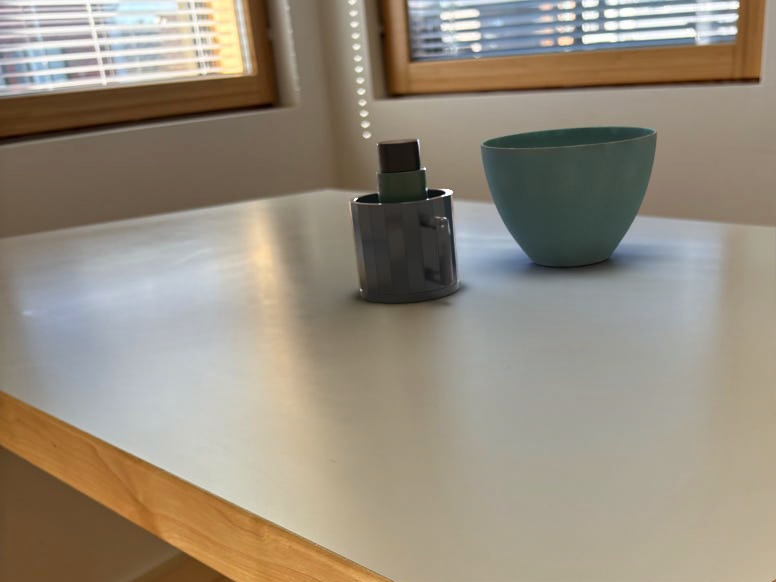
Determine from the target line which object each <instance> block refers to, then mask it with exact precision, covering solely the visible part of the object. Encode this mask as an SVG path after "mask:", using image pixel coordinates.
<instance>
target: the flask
mask: <svg viewBox="0 0 776 582" xmlns="http://www.w3.org/2000/svg"><path fill="white" fill-rule="evenodd" d="M376 149H377V150H376V151H377V156H378V157H377V158H378V168H379V169H378V170H377V171H375V179H376V187H377V188H376V189H377V192H378V198H379V204H386V203H401V202H411V201H419V200H425V199H428V191H427V188H428V182H427V180H428V179H427V170H426V167H425V166H422V160H421V150H420V140H419V139H418V138H400V139H399V138H398V139H388V140H383V141H378V142H376Z"/></svg>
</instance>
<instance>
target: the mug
mask: <svg viewBox="0 0 776 582" xmlns="http://www.w3.org/2000/svg"><path fill="white" fill-rule="evenodd" d="M427 191H428V199H425V200H419V201H411V202H401V203H386V204H379V198H378V191H375V192H369V193H365V194H360V195H357V196H354V197H351V198H350V199H349V200H348V208H349V209H348V210H349V214H350V216H349V217H350V224H351V231H352V239H353V248H354V255H355V264H356V271H357V273H356V274H357V279H358V287H359V291H360V292H359V293H360V296H361V299H363V300H365V301H367V302H372V303H379V304H407V303H418V302H426V301H431V300H435V299H439V298H443V297H447V296H450V295H452V294H454V293H456V292H457V291H458V290H459V288H460V282H459V279H460V276H459V275H460V274H459V263H458V249H457V237H456V236H457V235H456V224H455V222H456V221H455V209H454V208H455V207H454V197H453V196H454V195H453V191H452V190H450V189H445V188H436V187H435V188H434V187H427Z"/></svg>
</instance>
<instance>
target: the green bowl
mask: <svg viewBox="0 0 776 582" xmlns="http://www.w3.org/2000/svg"><path fill="white" fill-rule="evenodd" d="M657 138H658V131H657V130H656V129H655V128H651V127H642V126H629V125H627V126H626V125H625V126H624V125H604V126H603V125H602V126H580V127H579V126H578V127H576V126H575V127H564V128H554V129H553V128H552V129H542V130H533V131H525V132H524V131H523V132H518V133H512V134H505V135H502V136H501V135H500V136H497V137H492V138H488V139H485V140H484V141H482V142H481V143H480V144H479V145H480V154H481V160H482V167H483V170H484V174H485V179H486V183H487V186H488V189H489V192H490V195H491V198H492V201H493V203H494V205H495V208H496V210H497V212H498V214H499V217H500V218H501V220H502V222H503V224H504V225H505V228H506V229H507V231H508V233H509V234H510V235H511V237H512V239H514V241H515V242H516V244H517V245H518V246H519V248H521V250H522V251H523V253H525V255H526V256H527V258H528V259H530V260H531V261H532V262H533V263H534V264H536V265H539V266H545V267H552V268H553V267H554V268H565V267H566V268H568V267H580V266H587V265H594V264H597V263H601V262H604V261H606V260H607V259H609V258H610V257H611V255H612V254H613V253H614V252H615V250H616V249H617V248H618V247H619V245H620V244H621V242H622V240H623V239H624V238H625V236H626V234H627V233H628V231H629V230H630V228H631V226H632V225H633V223H634V221H635V219H636V217H637V215H638V213H639V210H640V208H641V206H642V204H643V202H644V198H645V196H646V192H647V189H648V187H649V183H650V179H651V176H652V171H653V166H654V162H655V156H656V149H657Z"/></svg>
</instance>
